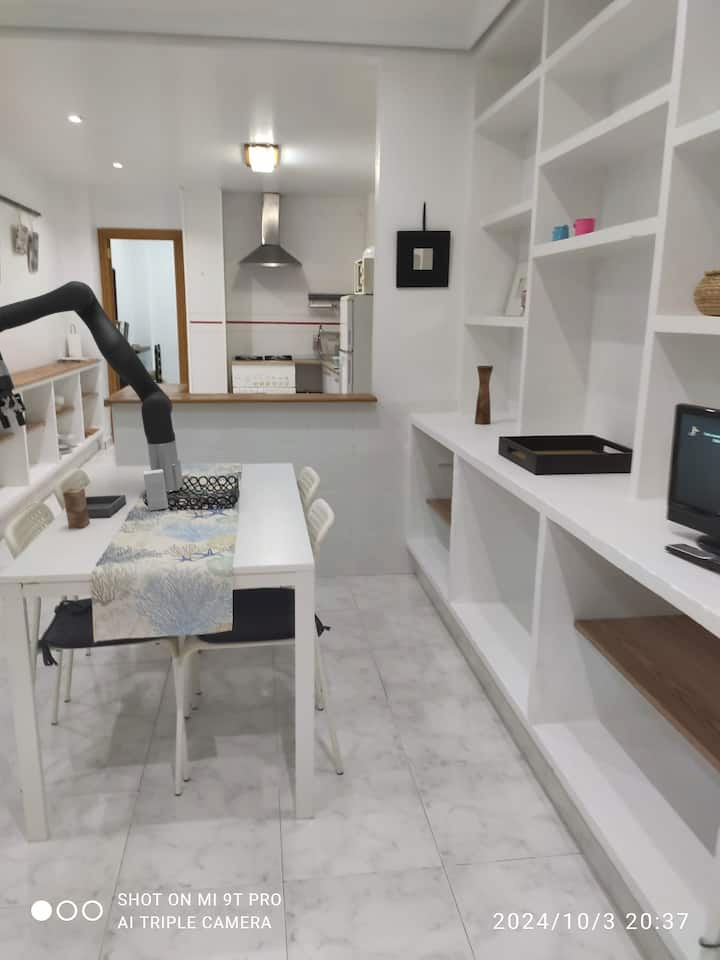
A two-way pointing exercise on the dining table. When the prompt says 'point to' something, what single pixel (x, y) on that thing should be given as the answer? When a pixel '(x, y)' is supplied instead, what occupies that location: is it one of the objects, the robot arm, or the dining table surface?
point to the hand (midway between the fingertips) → (15, 426)
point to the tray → (104, 505)
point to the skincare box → (155, 489)
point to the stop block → (76, 508)
